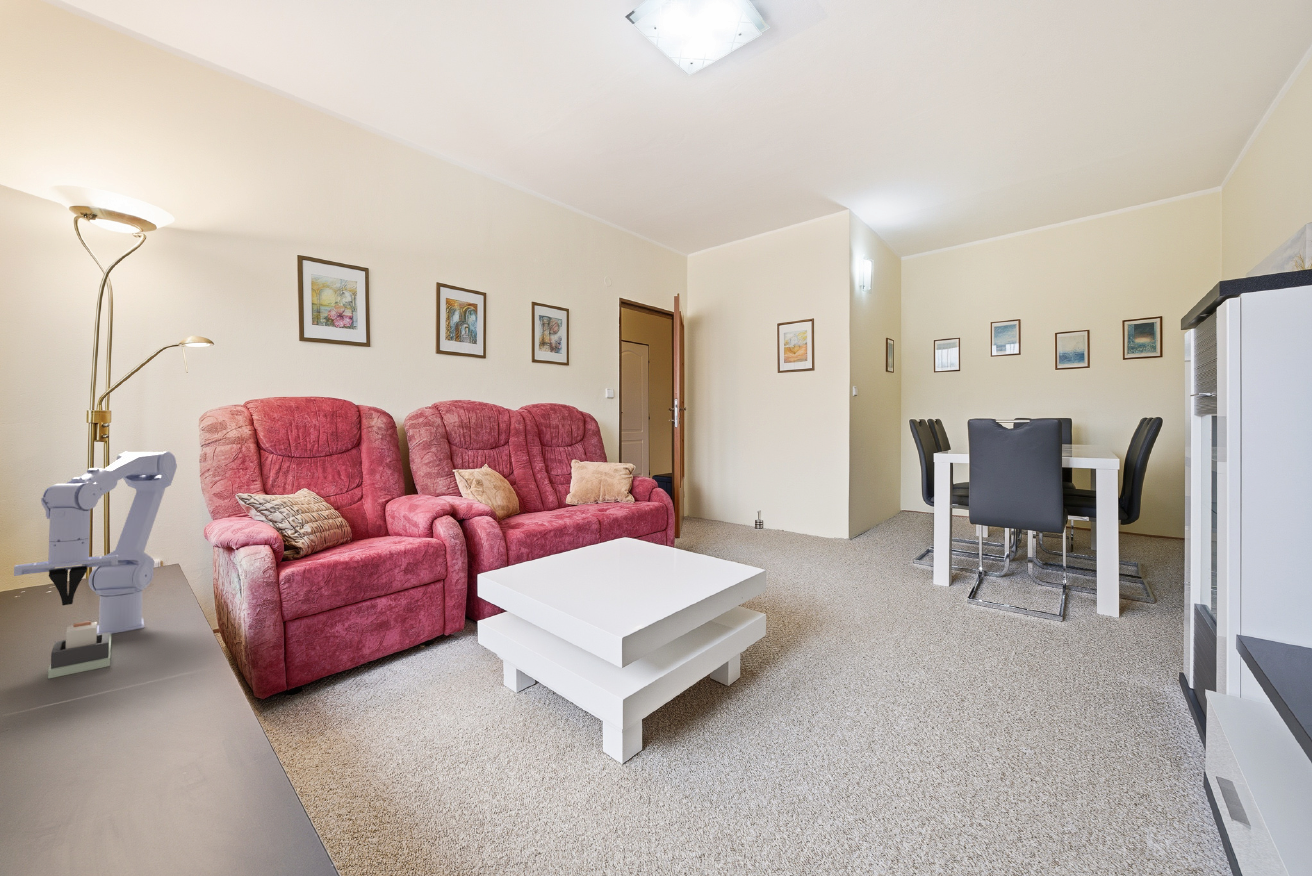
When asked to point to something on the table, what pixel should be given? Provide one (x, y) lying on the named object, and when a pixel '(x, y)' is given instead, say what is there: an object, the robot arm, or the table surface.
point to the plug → (81, 634)
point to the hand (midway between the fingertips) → (67, 603)
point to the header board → (80, 657)
